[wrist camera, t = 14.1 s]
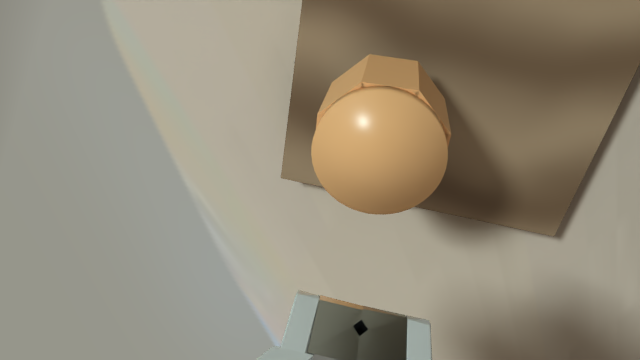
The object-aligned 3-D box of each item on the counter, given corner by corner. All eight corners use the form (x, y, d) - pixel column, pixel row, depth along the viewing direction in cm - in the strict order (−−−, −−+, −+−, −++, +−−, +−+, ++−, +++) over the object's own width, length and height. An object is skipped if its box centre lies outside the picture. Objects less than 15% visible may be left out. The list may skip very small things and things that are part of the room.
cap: (335, 49, 22) (317, 81, 18) (453, 65, 22) (462, 103, 17) (324, 152, 25) (305, 202, 21) (427, 169, 24) (431, 224, 20)
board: (340, -259, 19) (335, -271, 18) (748, -199, 18) (774, -208, 17) (286, 166, 30) (280, 177, 28) (547, 221, 28) (554, 236, 27)
